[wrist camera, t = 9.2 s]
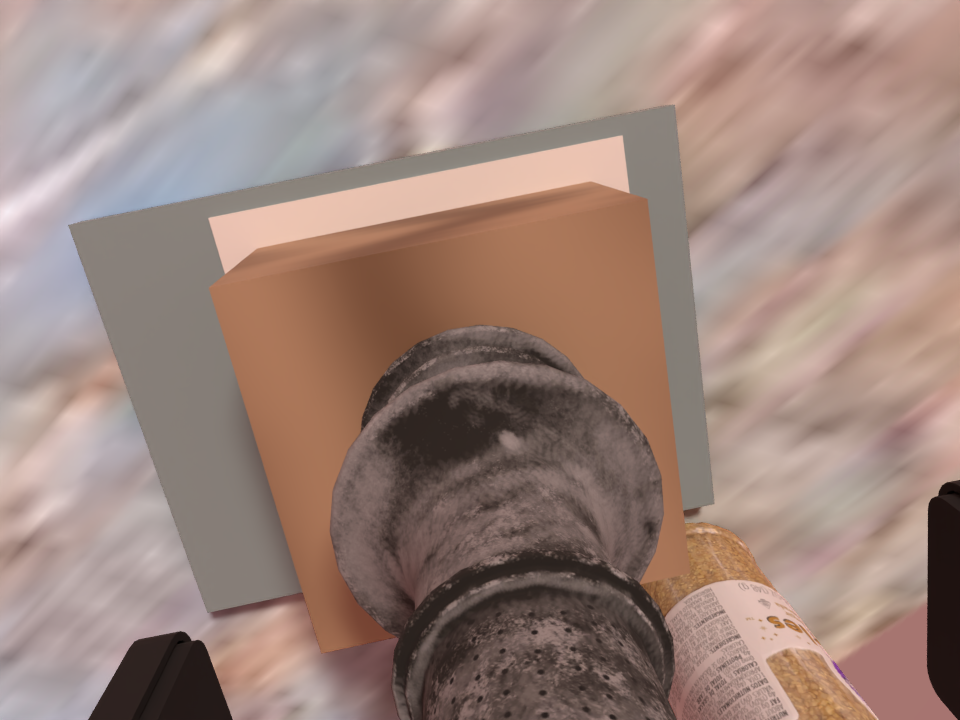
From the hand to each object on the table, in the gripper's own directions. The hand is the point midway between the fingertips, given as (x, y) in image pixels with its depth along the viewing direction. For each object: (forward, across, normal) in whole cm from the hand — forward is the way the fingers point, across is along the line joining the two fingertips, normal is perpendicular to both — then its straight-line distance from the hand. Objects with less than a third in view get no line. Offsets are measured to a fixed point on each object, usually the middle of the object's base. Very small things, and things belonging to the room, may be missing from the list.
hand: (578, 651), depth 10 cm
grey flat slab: (+13, +2, 0) cm, 13 cm away
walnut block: (+12, +1, 0) cm, 12 cm away
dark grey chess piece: (+7, +1, 0) cm, 7 cm away
